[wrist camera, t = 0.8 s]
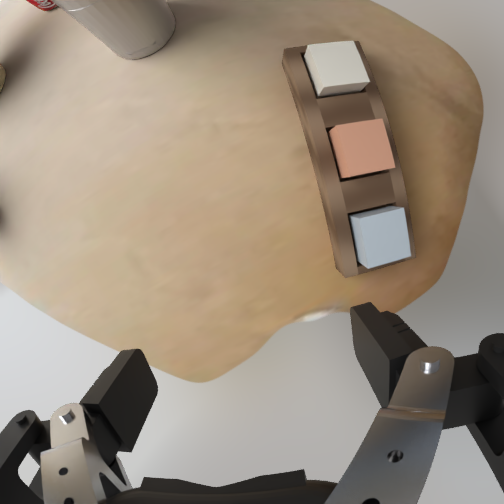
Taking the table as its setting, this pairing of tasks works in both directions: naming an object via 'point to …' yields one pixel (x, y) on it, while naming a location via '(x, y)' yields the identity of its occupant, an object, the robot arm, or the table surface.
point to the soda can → (43, 4)
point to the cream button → (335, 68)
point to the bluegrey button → (380, 236)
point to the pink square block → (361, 147)
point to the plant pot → (2, 76)
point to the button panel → (330, 184)
